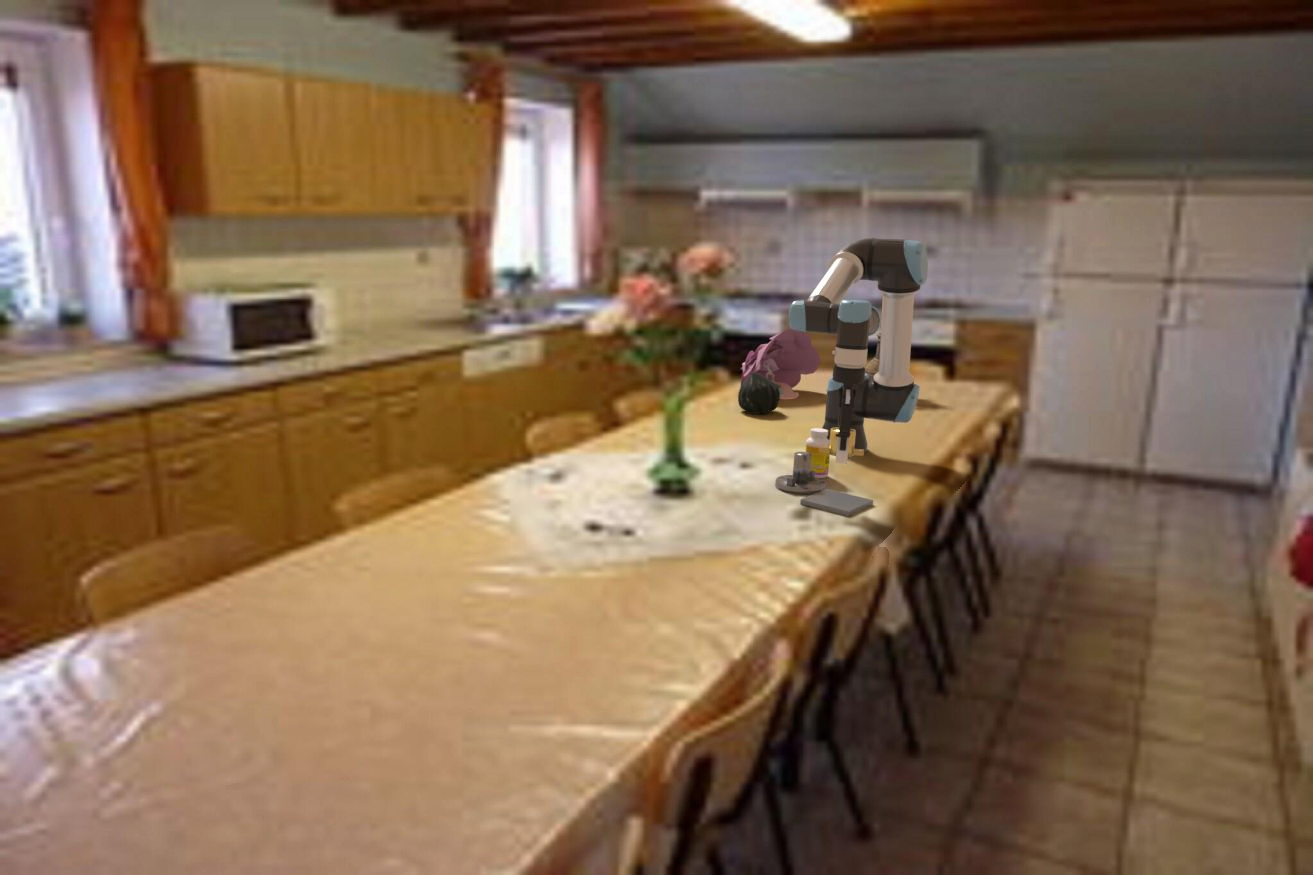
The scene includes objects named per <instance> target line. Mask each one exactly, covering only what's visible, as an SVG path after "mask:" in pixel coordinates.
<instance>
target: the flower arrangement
mask: <svg viewBox="0 0 1313 875" xmlns="http://www.w3.org/2000/svg"><path fill="white" fill-rule="evenodd" d="M769 340H770V341H769V342H768V343H764V344H763V343H762V344H760V345H759V346H757V348H756V349H755V351H753V350H750V351H749V352H748V354H747V356H746V358H745V361H744V362H743V363H742V364H741V365H742V367H740V370H742V374H741V378H740V380H741V381H740V386H739V389H740V388H741V386H742V384H743V383H744V382H745V381H746V380H747V379H748V377H749V376H750V375H751V374H752V373H753V372H754V373H758V374H761V375H763V376H764V377H766V378H768V379H769V380H771V381H772V382H774V383H775V384H776V385H777V387H778V389H779V392H780V400H793V399H797V398H798V397H799V396H800V394H799V391H796V392H795V391H794V389H793V388H795V387H796V386H798V385H799V383H800V381H801V380H802V375H804V376H805V375H812V374H814V373H816V372H817V370H818V368H819V367H820V362H821V358H820V355H819V352H818V351H817V349H816V348H815V347H813V345H812V339H811V338H810V336H809V335H808V334H807V333H806V332H803V331H796V330H793V329H792V328H790V329H785V330H783V331H781V332H779V333H778V334H776V335H773V336H772V337H770V338H769Z"/></svg>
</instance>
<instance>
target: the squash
mask: <svg viewBox="0 0 1313 875" xmlns="http://www.w3.org/2000/svg"><path fill="white" fill-rule="evenodd" d="M740 386H741V385H740ZM780 400H781V399H780V392H779V389H778V387H777V385H776V384H775V383H774V382H772V381H771V380H769V379H768V378H766V377H764V376H763V375H761V374H758V373H754V372H753V373H752V374H751V375H750V376H749V377H748V379H747V380H746V381H745V382H744V383H743V384H742V386H741V388H740V387H739V390H738V395H737V401H738V402H737V403H738V405H739V407H740V408H741V409H742V410H744V412H746V413H750V414H752V413H753V414H754V415H758V414H762V415H767V414H768V413H769V412H772V411H773V412H774V411H775V410H776V408H777V406H778V405H779V403H780Z"/></svg>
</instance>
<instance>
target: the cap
mask: <svg viewBox="0 0 1313 875" xmlns="http://www.w3.org/2000/svg"><path fill="white" fill-rule="evenodd" d="M838 433H839V427H835V428H831V432H830V443H829V447H827V446H819V452H821V453H829V454H830V456H833V457H836V450H837V440H838V437H835V435H836V434H838ZM855 436H856V430H854V429H850V437H849V447H848V457H847V458H852V457H853V456H857V457H859V456H860V457H864V455H865V453H864V449H854V446H855Z"/></svg>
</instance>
